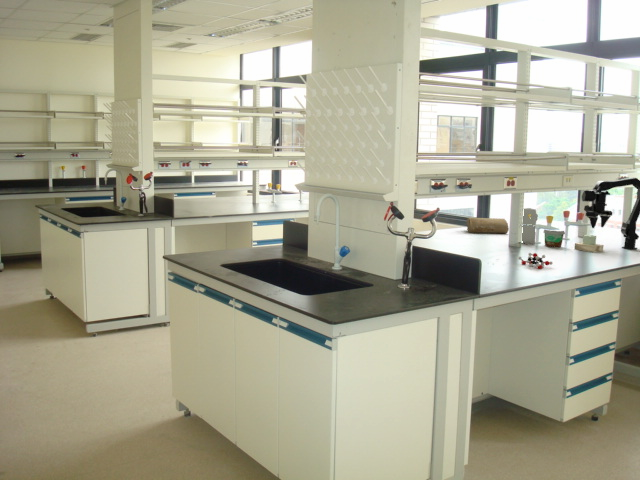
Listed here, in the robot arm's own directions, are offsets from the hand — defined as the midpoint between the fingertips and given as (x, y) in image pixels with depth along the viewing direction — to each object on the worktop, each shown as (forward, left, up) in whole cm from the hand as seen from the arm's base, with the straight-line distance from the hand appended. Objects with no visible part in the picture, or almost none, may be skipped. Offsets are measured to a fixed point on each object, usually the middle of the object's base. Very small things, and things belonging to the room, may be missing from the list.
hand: (597, 227), depth 368 cm
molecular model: (+83, +21, -12) cm, 86 cm away
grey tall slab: (+29, -28, -12) cm, 42 cm away
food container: (+24, -13, -12) cm, 30 cm away
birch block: (+13, +4, -12) cm, 19 cm away
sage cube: (+13, +4, -8) cm, 16 cm away
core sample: (+17, -71, -12) cm, 74 cm away
